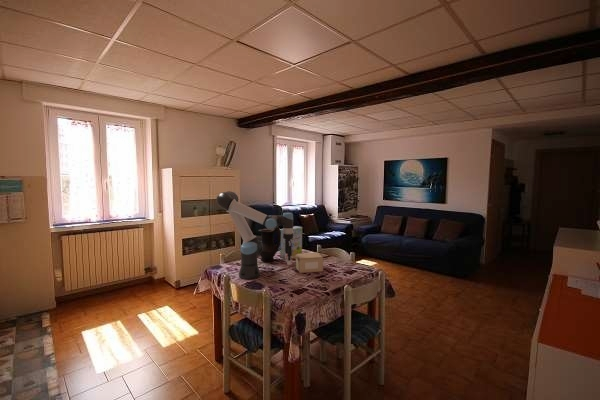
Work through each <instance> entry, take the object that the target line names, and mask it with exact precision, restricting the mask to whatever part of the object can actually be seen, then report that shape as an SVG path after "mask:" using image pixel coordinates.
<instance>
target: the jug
mask: <svg viewBox="0 0 600 400" xmlns="http://www.w3.org/2000/svg"><path fill="white" fill-rule="evenodd" d="M257 231H258V232H260V234H261V235H260V236H261V240H260V241H261V243H262V245H263V249H262V251H261V253H260V254H259V256H260V257H261V259H260V261H261V262H263V263H272V262H274V261H275V258H274V257H275V255H276V254H277V252H278V251H279V248H280V246H281V229H280V226H276V227H275V228H274V229H268V228H263V229H262V228H261V229H257ZM275 232H276V233H277V234H276V235H277V237H276V244H275V240H274V235H275V234H274V233H275Z"/></svg>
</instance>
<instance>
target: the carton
mask: <svg viewBox="0 0 600 400" xmlns="http://www.w3.org/2000/svg"><path fill="white" fill-rule="evenodd" d="M295 268H296V269H297V271H298V272H299V273H300V274H304V273H315V272H323V271H324V258H314V259H299V258H295Z"/></svg>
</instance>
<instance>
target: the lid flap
mask: <svg viewBox="0 0 600 400" xmlns="http://www.w3.org/2000/svg"><path fill="white" fill-rule="evenodd" d="M287 256H288V254H286V256H285V257H286V259H287ZM296 258H299V259H314V258H323V255H321V254H319V252H306V253H305V252H304V253H303V252H302V254H296V255H294V256H291V259H296ZM286 259H285V260H286ZM323 259H324V258H323Z"/></svg>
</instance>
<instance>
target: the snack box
mask: <svg viewBox="0 0 600 400" xmlns="http://www.w3.org/2000/svg"><path fill="white" fill-rule="evenodd" d="M293 229H294V230H293V239H290V240H291V243H292V246H291V248H292V256H294V255H296V254H302V253H303V226H297V225H296V226H294V225H293ZM283 234H284V233H283V228H281V229H280V257H279V258H282V259H285V260H286V257H285V256H286V253H285V239H284V238H283Z"/></svg>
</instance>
